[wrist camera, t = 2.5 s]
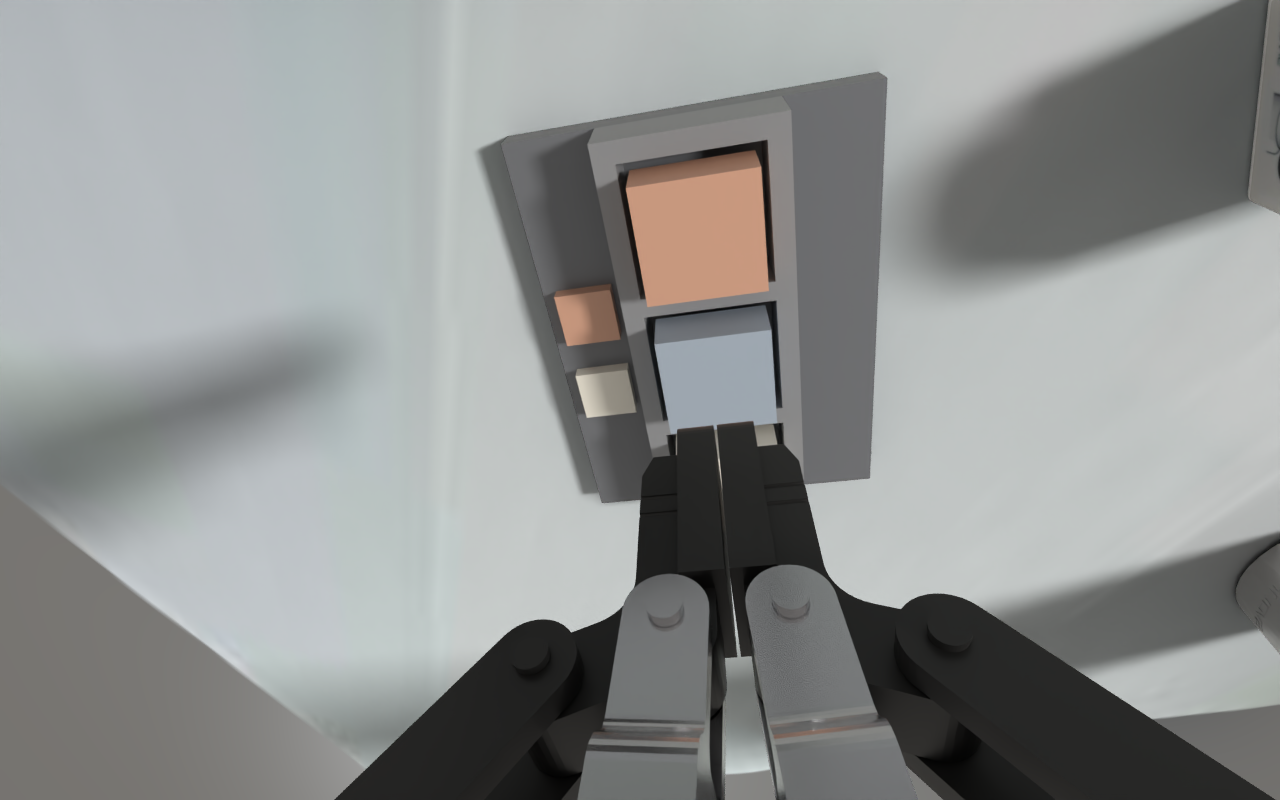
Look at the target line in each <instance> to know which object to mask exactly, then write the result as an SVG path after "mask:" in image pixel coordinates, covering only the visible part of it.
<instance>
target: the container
mask: <svg viewBox="0 0 1280 800" xmlns="http://www.w3.org/2000/svg"><path fill="white" fill-rule="evenodd" d="M1248 198H1249V199H1250V200H1251V201H1252V202H1254V203H1256V204H1258V205H1260V206H1262V207H1265V208H1267V209H1269V210H1271V211H1273V212H1276V213H1278V214H1280V0H1269V3H1268V12H1267V21H1266V30H1265V40H1264V49H1263V58H1262V67H1261V76H1260V86H1259V95H1258V104H1257V113H1256V123H1255V132H1254V141H1253V150H1252V159H1251V169H1250V178H1249V187H1248Z"/></svg>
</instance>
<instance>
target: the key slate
mask: <svg viewBox="0 0 1280 800" xmlns="http://www.w3.org/2000/svg"><path fill="white" fill-rule="evenodd" d="M654 345H655V351H656V356H657V362H658V367H659V372H660V378H661V383H662V389H663V394H664V400H665V405H666V411H667V416H668V422H669V427H670V433H671V434H677V429H682V428H692V427H701V426H710V425H713V426H714V430H715V429H717V425H718V424H728V423H737V422H746V421H753V422H754V425H763V424H772V423H777V413H776V396H775V380H774V364H773V348H772V332H771V326H770V322H769V318H768V314H767V310H766V306H765V305H761V306H754V307H746V308H738V309H731V310H723V311H715V312H708V313H700V314H692V315H685V316H677V317H669V318H661V319H656V323H655V342H654Z"/></svg>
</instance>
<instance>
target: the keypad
mask: <svg viewBox="0 0 1280 800" xmlns="http://www.w3.org/2000/svg"><path fill="white" fill-rule="evenodd" d="M886 96H887V77H885V76H884V75H882V74H881V73H879V72H875V73H869V74H864V75H858V76H852V77H846V78H841V79H835V80H829V81H823V82H818V83H812V84H806V85H800V86H795V87H789V88H783V89H777V90H771V91H766V92H760V93H754V94H748V95H743V96H737V97H731V98H725V99H720V100H714V101H708V102H702V103H697V104H691V105H685V106H679V107H674V108H668V109H662V110H656V111H651V112H645V113H639V114H633V115H628V116H622V117H616V118H610V119H605V120H599V121H593V122H587V123H582V124H576V125H570V126H564V127H559V128H553V129H547V130H541V131H536V132H530V133H524V134H518V135H513V136H507V138H506V139H505V140H504V141H503V142H502V143H501V147H502V151H503V154H504V158H505V161H506V165H507V168H508V172H509V175H510V179H511V183H512V186H513V190H514V193H515V197H516V200H517V204H518V207H519V211H520V214H521V218H522V222H523V225H524V229H525V232H526V236H527V239H528V243H529V246H530V250H531V253H532V257H533V261H534V264H535V268H536V271H537V275H538V278H539V282H540V285H541V289H542V292H543V296H544V299H545V303H546V307H547V310H548V314H549V317H550V321H551V324H552V328H553V331H554V335H555V338H556V342H557V346H558V349H559V353H560V356H561V360H562V363H563V367H564V370H565V374H566V377H567V381H568V385H569V388H570V392H571V395H572V399H573V402H574V406H575V409H576V413H577V416H578V420H579V424H580V427H581V431H582V434H583V438H584V441H585V445H586V448H587V452H588V455H589V459H590V463H591V466H592V470H593V473H594V477H595V480H596V484H597V487H598V491H599V494H600V498H601V501H602V503H609V502H620V501H631V500H641V486H642V476H643V474H644V472H645V471H646V469H647V467H648V466H649V464H650V462H651V461H652V459H653V457H661V456H671V455H676V434H671V433H670V427H669V422H668V416H667V411H666V405H665V400H664V394H663V389H662V383H661V378H660V372H659V367H658V362H657V356H656V351H655V345H654V342H655V323H656V319H661V318H669V317H677V316H685V315H692V314H700V313H708V312H715V311H723V310H731V309H738V308H746V307H754V306H761V305H765V306H766V310H767V314H768V318H769V322H770V326H771V332H772V348H773V364H774V380H775V396H776V413H777V423H772V424H773V425H774V430H775V435H776V440H777V444H784V445H785V446H786V447H787V448H788V449H789V450H790V451H791V452H792V453H793V455H794V456H795V457H796V458H797V459H798V460H799V463H800V467H801V471H802V475H803V479H804V484H814V483H825V482H836V481H847V480H858V479H868V478H870V462H871V439H872V416H873V393H874V370H875V347H876V325H877V302H878V279H879V256H880V233H881V210H882V187H883V164H884V141H885V119H886ZM751 150H755V151H756V154H757V157H758V159H759V162H760V165H761V171H762V187H763V203H764V219H765V235H766V252H767V268H768V284H769V291H765V292H758V293H750V294H743V295H735V296H728V297H720V298H713V299H705V300H698V301H690V302H683V303H675V304H668V305H660V306H653V307H647V301H646V296H645V290H644V285H643V279H642V274H641V269H640V263H639V258H638V252H637V247H636V241H635V236H634V230H633V225H632V219H631V214H630V208H629V203H628V197H627V192H626V185H627V180H628V175H629V170H634V169H640V168H647V167H653V166H659V165H665V164H671V163H677V162H684V161H690V160H696V159H702V158H708V157H714V156H721V155H727V154H733V153H739V152H745V151H751ZM763 425H767V424H763ZM754 426H757V425H754ZM715 430H717V429H715Z"/></svg>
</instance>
